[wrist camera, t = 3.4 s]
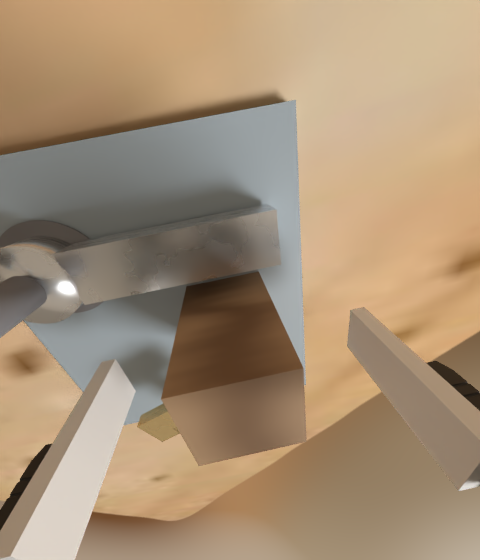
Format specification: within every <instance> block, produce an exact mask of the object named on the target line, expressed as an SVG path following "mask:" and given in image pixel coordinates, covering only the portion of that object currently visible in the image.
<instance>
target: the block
mask: <svg viewBox="0 0 480 560" xmlns="http://www.w3.org/2000/svg"><path fill="white" fill-rule="evenodd" d="M161 400H162V402H163V404H164V406H165V407H166V409H167V411H168V413H169V414H170V416H171V418H172V420H173V421H174V423H175V425H176V427H177V428H178V430H179V432H180V434H181V435H182V437H183V439H184V441H185V442H186V444H187V446H188V448H189V449H190V451H191V453H192V455H193V456H194V458H195V460H196V462H197V463H198V465H199V466H201V465H206V464H210V463H214V462H219V461H223V460H228V459H232V458H236V457H241V456H245V455H250V454H254V453H258V452H263V451H267V450H272V449H276V448H280V447H285V446H289V445H293V444H298V443H302V442H306V417H305V393H304V368H303V366H302V364H301V362H300V359H299V357H298V355H297V353H296V351H295V349H294V347H293V344H292V342H291V340H290V338H289V336H288V334H287V331H286V329H285V327H284V325H283V323H282V321H281V319H280V316H279V314H278V312H277V310H276V308H275V306H274V303H273V301H272V299H271V297H270V295H269V293H268V290H267V288H266V286H265V284H264V282H263V280H262V278H261V275H260V273H259V272H254V273H249V274H244V275H239V276H235V277H230V278H225V279H220V280H215V281H210V282H206V283H201V284H196V285H191V286H186V291H185V295H184V300H183V304H182V308H181V313H180V317H179V322H178V326H177V330H176V335H175V339H174V344H173V348H172V353H171V357H170V361H169V366H168V370H167V375H166V379H165V384H164V388H163V392H162V397H161Z"/></svg>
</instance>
